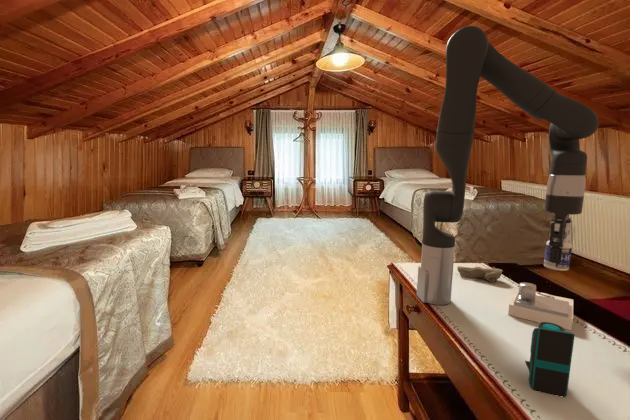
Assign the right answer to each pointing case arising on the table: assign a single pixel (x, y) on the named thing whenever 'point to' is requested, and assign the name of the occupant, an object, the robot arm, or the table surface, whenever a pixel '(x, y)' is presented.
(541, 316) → the scale housing
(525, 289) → the cylinder
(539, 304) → the scale pan
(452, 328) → the table surface
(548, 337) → the dark boxy piece
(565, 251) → the pill bottle
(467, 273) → the sculpture
